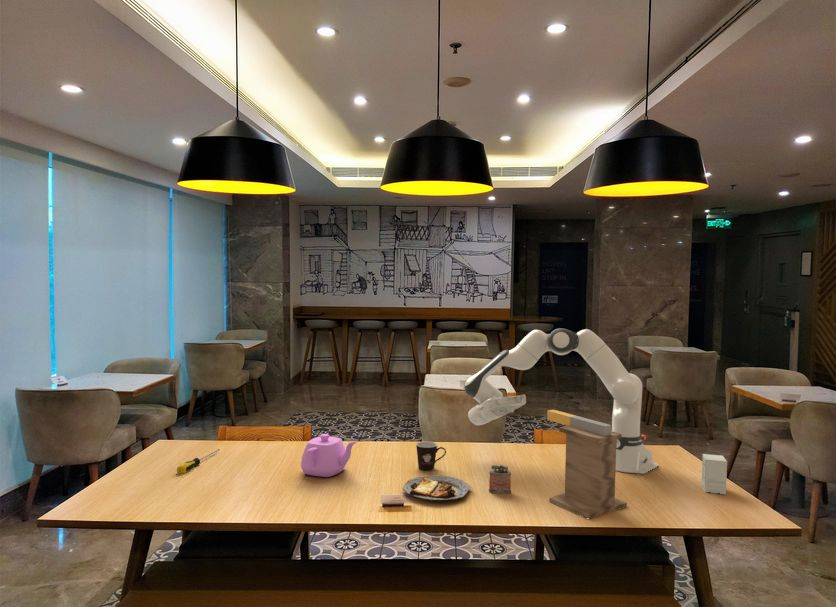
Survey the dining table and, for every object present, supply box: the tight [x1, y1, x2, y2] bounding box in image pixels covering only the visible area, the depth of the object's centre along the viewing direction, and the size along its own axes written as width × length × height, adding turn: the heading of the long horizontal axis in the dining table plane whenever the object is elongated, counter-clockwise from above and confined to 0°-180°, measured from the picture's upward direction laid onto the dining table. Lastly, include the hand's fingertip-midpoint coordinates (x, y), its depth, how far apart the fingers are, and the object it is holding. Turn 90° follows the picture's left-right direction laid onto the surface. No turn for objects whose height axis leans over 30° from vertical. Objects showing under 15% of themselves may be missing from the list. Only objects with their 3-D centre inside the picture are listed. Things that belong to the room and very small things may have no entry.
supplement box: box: [701, 453, 728, 495], centre depth 211 cm, size 7×7×13 cm
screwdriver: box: [176, 448, 220, 475], centre depth 234 cm, size 3×3×30 cm
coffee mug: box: [415, 440, 447, 472], centre depth 230 cm, size 12×9×10 cm
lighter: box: [488, 464, 512, 495], centre depth 206 cm, size 8×3×10 cm, turn 84°
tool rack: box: [549, 425, 628, 519], centre depth 196 cm, size 20×17×26 cm
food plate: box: [402, 474, 471, 501], centre depth 205 cm, size 25×23×4 cm
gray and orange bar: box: [546, 409, 612, 436], centre depth 200 cm, size 3×26×3 cm, turn 33°
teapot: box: [300, 433, 358, 478], centre depth 222 cm, size 23×21×15 cm
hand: (515, 397), depth 226 cm, fingers open, 8 cm apart
